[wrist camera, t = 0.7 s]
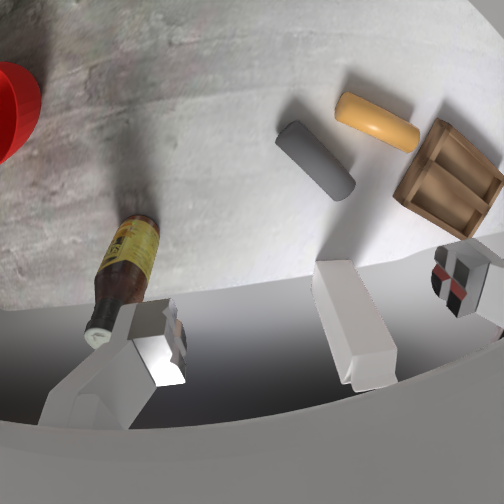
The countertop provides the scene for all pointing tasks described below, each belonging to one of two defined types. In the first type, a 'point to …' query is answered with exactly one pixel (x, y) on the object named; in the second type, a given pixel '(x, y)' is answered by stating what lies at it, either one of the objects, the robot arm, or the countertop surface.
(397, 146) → the orange rod
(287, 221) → the countertop surface
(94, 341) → the sauce bottle
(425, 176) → the slot rack
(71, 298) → the countertop surface
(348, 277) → the milk
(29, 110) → the ceramic cup
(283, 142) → the charcoal rod
